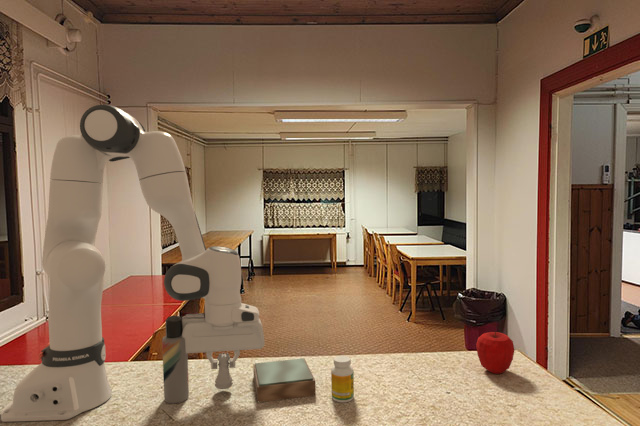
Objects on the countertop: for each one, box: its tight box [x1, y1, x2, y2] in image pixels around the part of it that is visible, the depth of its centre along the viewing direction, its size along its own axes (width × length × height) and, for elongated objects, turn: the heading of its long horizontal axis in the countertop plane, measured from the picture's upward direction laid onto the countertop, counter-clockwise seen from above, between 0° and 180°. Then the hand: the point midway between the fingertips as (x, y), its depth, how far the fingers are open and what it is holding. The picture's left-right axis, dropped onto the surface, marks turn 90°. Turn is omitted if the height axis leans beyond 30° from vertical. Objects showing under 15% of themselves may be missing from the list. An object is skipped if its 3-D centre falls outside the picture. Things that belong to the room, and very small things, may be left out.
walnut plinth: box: [252, 358, 317, 403], centre depth 110 cm, size 14×14×4 cm
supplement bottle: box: [330, 355, 355, 404], centre depth 103 cm, size 5×5×10 cm
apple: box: [475, 331, 515, 375], centre depth 117 cm, size 10×10×11 cm
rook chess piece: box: [214, 351, 234, 390], centre depth 108 cm, size 4×4×8 cm
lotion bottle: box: [161, 315, 190, 405], centre depth 104 cm, size 6×6×20 cm
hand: (223, 367), depth 107 cm, fingers closed on rook chess piece, 3 cm apart
